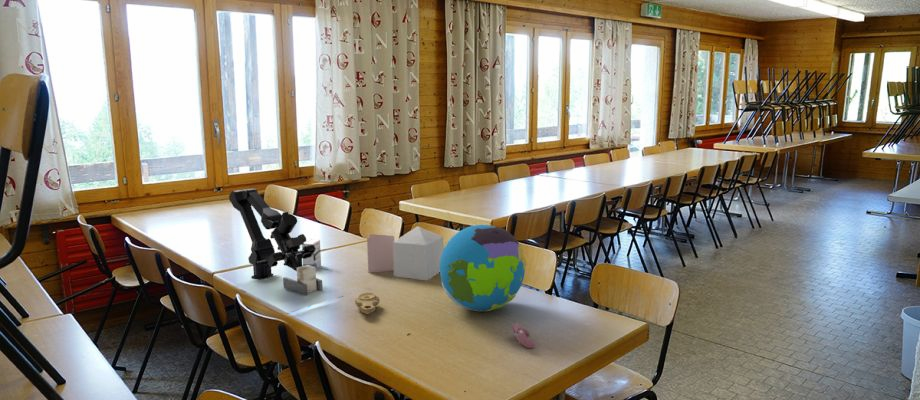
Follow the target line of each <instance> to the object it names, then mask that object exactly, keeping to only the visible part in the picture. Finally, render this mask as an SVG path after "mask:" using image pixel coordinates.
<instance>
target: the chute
mask: <svg viewBox="0 0 920 400" xmlns="http://www.w3.org/2000/svg"><path fill="white" fill-rule="evenodd" d="M282 281H283V284H282V285H283V288H284V289H286V290H288V291H292V292H295V293H297V294H299V295H303V296H308V293H307V284H304V283H301V282H298V281H297V280H295V279H293V278H290V277H288V276H285V277H282ZM316 287H317V290H316V291H319V292H321V291H323V280H322V279H319V278H317V277H316Z"/></svg>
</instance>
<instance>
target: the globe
mask: <svg viewBox="0 0 920 400" xmlns="http://www.w3.org/2000/svg"><path fill="white" fill-rule="evenodd" d="M523 252H524V248H522V245H521V244H520V243H519V241H518V240H517V239H516V237H515V236H513V234H511V232H509V231H508V230H507V229H505V228H503V227H499V226H493V225H489V224H476V225H471V226H467V227H465V228H463V229H462V230H460V231H458V232H457V233H455V234H454V235H452V237H451V238H450V239H449V240H448V241H447V243H446V244H445V246H444V247H443V252H442V255H441V259H440V273H439V275H440V280H441V287H442V289H443V291H444V292H445V293H444V294H446V295H447V297H448V298H449V299H450V300H451V301H452V302H453V304H455V305H457V306H459V307H461V308H463V309H465V310H470V311H473V312H474V311H475V312H490V311H494V310H496V309H500V308H503V307H504V306H505V305H507V304H508V303H509V302H512V301H513V299H515V297H516V296H517V293H518V292H519V291H520V289H521V287H522V284H523V281H524V279H525V273H526V268H527V266H526V265H527V261H526V259H525V256H524V253H523Z"/></svg>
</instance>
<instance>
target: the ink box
mask: <svg viewBox="0 0 920 400" xmlns="http://www.w3.org/2000/svg"><path fill="white" fill-rule="evenodd" d="M311 244H312V245H314V246H315V248H316V250H315V252H314V253H313V255H312V256H311V257H310V258H306V259H304V258H302V266H305V265H310V266H313V267H315V268H319V267H321V266H322V255H321V253H322V252H321V240H320V239H313V238H310V239H309V238H308V240H307V239H306V242H304V244H303V245H301V250H302V249H303V247H304V246H307V245H311Z"/></svg>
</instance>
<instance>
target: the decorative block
mask: <svg viewBox="0 0 920 400" xmlns="http://www.w3.org/2000/svg"><path fill="white" fill-rule="evenodd" d="M443 250H444V237H443V236H441V235H440V234H437V233H436V232H434V231H430V230H428V229H425V228H423V227H422V226H416V227H414V228H412V229H411V230H409V231H408V232H406V233H405V234H403V235H401V236H400V237H399V238H397V239H396V240H394V243H393V261H394V270H393V277H396V278H397V277H399V278H404V279H406V278H407V279H413V280H421V281H428V280H430V279H433V278H434V277H435V276H437V275H439V274H440V273H439V272H440V259H441V255H442V252H443ZM436 274H437V275H436ZM433 276H434V277H433Z"/></svg>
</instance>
